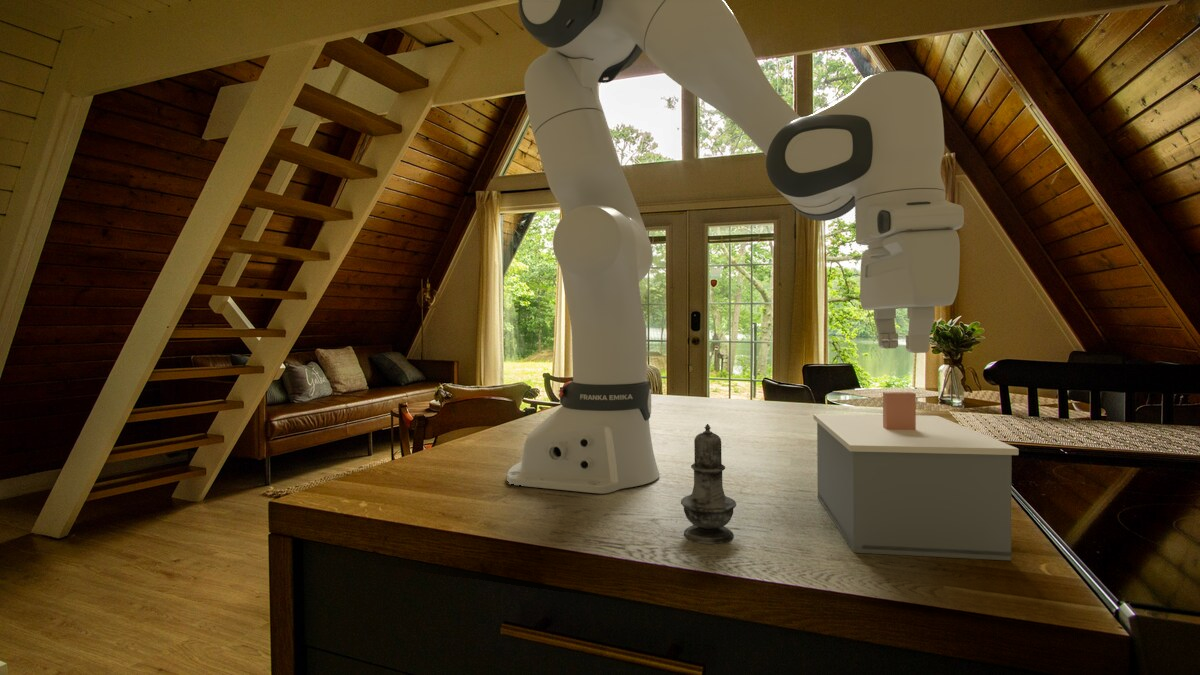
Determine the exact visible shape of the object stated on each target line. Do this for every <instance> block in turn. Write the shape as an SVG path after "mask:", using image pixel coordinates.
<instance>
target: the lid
mask: <svg viewBox="0 0 1200 675" xmlns="http://www.w3.org/2000/svg"><path fill="white" fill-rule="evenodd" d="M916 396H917V394H916V393H915V392H912V391H908V392H907V391H883V392H882V401H883V402H882V414H837V413H836V414H833V413H832V414H830V413H829V414H825V413H824V414H822V413H817V414H816V413H814V414H813V415H812V417H813V420H814V421H815V422H816V424H817V423H819V424H820V425H821V426H822V427H823V428H824V429H825V430H826V431H828V432H829V433H830V434H831V435H832V436H833V437H834V438H836V439H837V440H838V441H839V442H840V443H841V444H842V445H843V446H845V447H846V448H847V449H848V450H849V451H855V452H900V453H945V454H989V455H1012V456H1019V453H1020V452H1019V448H1017V447H1015V446H1013V445H1010V444H1008V443H1005V442H1003V441H1001V440H998V439H995V438H994V437H990V436H988V435H986V434H983V433H981V432H979V431H976V430H974V429H971V428H970V427H969V428H968V427H966V426H963V425H962V424H959V423H956V422H955V421H952V420H949V419H947V418H944V417H941V416H939V415H920V414H918V415H917V414H916V412H917V410H916V408H917V407H916V406H917V405H916V404H917V401H916V400H917V397H916Z"/></svg>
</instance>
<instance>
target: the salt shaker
mask: <svg viewBox="0 0 1200 675" xmlns="http://www.w3.org/2000/svg"><path fill="white" fill-rule="evenodd" d="M704 429H705V431H702V432H699V433H698V434H697V435H696V436H695V437H694V445H693V446H694V463H693V464H691V465H690V468H691V469H692V470H693V488H692V492H691V494H689V495H686V496H684V497H682V498H681V500H680V504H681V505H682V506H683V513H684V514H685V517H686V518H687V520H688V521H689V522H690V523H691V525H690V526H689V527H687V528H686V529H685V530H684V532H683V536H684V538H686V539H687V540H690V541H692V542H695V543H698V544H704V545H719V544H720V545H721V544H726V543H728V542H730V541H732V540H733V539H734V538H735V534H734V533H733V531H732V530H731V529H729V528H728V527H726V525H727V524H728V523H729V522H730V521H731V519H732V516H733V515H734V509H736V506H737V502H736V501H735V499H734V498H732V497H730V496H727V495H726V494H725V492H724V487H723V471H724V470H725V469H726V466H725V465H724V464H722V462H723V460H722V439H721V437H720V436H719V435H717V434H716V433H714V432H713V431H711V429H712V428H711V426H710V425H709V424H708V423H707V424H706V425H705V426H704Z"/></svg>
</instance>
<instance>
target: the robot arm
mask: <svg viewBox="0 0 1200 675" xmlns="http://www.w3.org/2000/svg"><path fill="white" fill-rule="evenodd" d="M517 5H518V13H519V17H520V21H521V23H522V24H523V27H524V28H525V29H526V30H527V32H528V33H529V34H530V36H532V37H533V38H534V40H536V41H537V42H539V43H540V44H542V45H543V46H545V47H548V48H547V50H546V52H545V53H544V54H541V55H540V56H538V57H537V58H535V59H534V60H533V61H532V62H531V63H530V64H529V66H528V67H527V69H526V71H525V73H524V79H523V80H524V81H523V82H524V83H523V84H524V96H525V101H526V102H525V103H526V109H527V114H528V119H529V123H530V128H531V131H532V135H533V137H534V141H535V142H534V143H535V146H536V148H537V151H538V155H539V157H540V160H541V161H540V162H541V165H542V167H543V170H544V174H545V177H546V180H547V184H548V187H549V190H550V191H551V193H552V194H553V197H555V199H556V201H557V203H558V205H559V206H560V208H561V211H562V213H563V216H562V218H561V219H560V220H559V222H558V223H557V225H556V227H555V230H554V234H553V238H552V247H553V253H554V255H555V258H556V261H557V262H558V265H559V267H560V271H561V275H562V276H561V277H562V283H563V288H564V294H565V299H566V305H567V309H568V315H569V322H570V329H571V352H572V354H571V357H572V380H570V381H567V382H564V384H563V385H562V386H561V387H560V389H559V390H558V392H559V394H558V398H559V403H560V405H561V406H560V408H558V409H556V411H555V412H553V413H552V414H550V415H549V416H548V417H546V418H545V420H543V421H542V422H541V423H539V424H538V425H537V426H536V427H535V428H534V429H533V430H532V431H531V432H530V433H529V434H528V435H527V437H526V439H525V441H524V445H523V451H522V456H521V461H519V462H517V463H515V464H514V465H512V466H511V467H510V468H509V470H508V471H507V473H506V482H507V481H508V482H509V483H508V482H507V483H508V485H511V484H514V485H513V486H519V485H521V487H529V488H540V489H541V488H542V489H550V490H561V491H571V492H580V493H592V494H610V493H613V492H615V491H618V490H619V491H620V490H622V489H627V488H633V487H638V486H643V485H646V484H650V483H652V482H654V481H656V480H657V479H659V478H660V472H659V469H658V468H659V467H658V465H657V462H656V458H655V452H654V448H653V442H652V435H651V427H650V426H651V424H650V418H651V415H652V389H651V382H650V380H648V361H647V360H648V354H647V353H648V348H647V340H648V339H647V338H648V337H647V336H648V335H647V325H646V321H645V317H644V311H643V304H642V297H641V296H642V295H641V288H640V282H641V281H642V280H643V279H645V277H646V276H647V274H648V273H649V272H650V269H651V268H652V263H653V258H654V256H653V255H654V254H653V246H652V243H651V240H650V238H649V235H648V231H647V229H646V227H645V223H644V221H643V218H642V216H641V213H640V210H639V207H638V205H637V202H636V200H635V198H634V195H633V193H632V190H631V188H630V185H629V182H628V180H627V177H626V176H625V173H624V171H623V168H622V165H621V162H620V159H619V157H618V153H617V150H616V145H615V143H614V140H613V137H612V134H611V131H610V127H609V124H608V120H607V119H606V114H605V112H604V108H603V106H602V104H601V101H600V97H599V93H598V92H599V91H598V83H600V84H601V83H602V84H604V83H605V84H607V83H609V82H612V81H614V80H615V79H616V77H617V76H618V75H619V73H621V72H623V71H625V70H627V69H628V68H629V67H631V66H632V65H633V64H634V63H635V62H636V61H637V60H638V59H639V57H641V55H642V53H644V54H645V55H646V57H648V59H649V60H650V61H651V62H652V63H653V64H654V65H655V66H656V67H657V68H658V69H659V70H660V71H661V72H662V73H664V75H666V76H667V77H668V78H670V79H671V80H672V81H674V82H675V83H676V84H678V85H679V86H681V87H682V88H684V89H685V90H687V91H688V92H690V93H691V94H693V95H694V96H696V97H697V98H699V99H700V100H702V101H703V102H705V103H706V104H708V105H710V106H711V107H713V109H716V110H717V111H718V112H720V113H722V114H723V115H724V116H726V117H727V118H728V119H730V120H731V121H732V122H733V123H735V125H737V126H738V127H739V128H740V130H742V131H743V132H744V133H745V135H747V137H748V138H749V139H750V140H751V141H752V142H753V143H754V145H756V146H757V148H758V149H759V150H760V151H761V152H762V153H763V154H764V155H765V156H766V159H765V168H766V173H767V176H768V179H769V181H770V182H771V184H772V185H773V187H775V189H776V190H777V191H778V192H779V194H781V195H782V196H783V197H784V198H785V199H786V200H787V201H788V202H789V203H790V205H791V206H792V208H793V209H794V210H795V211H796V212H797V214H800V216H803V217H804V218H806V219H809V220H812V221H818V222H819V221H820V222H821V221H822V222H823V221H824V222H825V221H832V220H835V219H836V220H837V219H838V218H841V217H843V216H845V215H846V214H848V213H849V212H851V211H852V210H853V209H854V216H855V218H854V219H855V220H854V222H855V224H854V225H855V243H856V244H857V245H861V246H867V249H865V250H864V252H863V253H862V255H861V261H860V275H859V277H860V278H859V279H860V280H859V282H860V283H859V300H860V304H861V309H862V310H863V311H873V321H874V324H875V328H876V331H877V334H878V336H877V339H878V343H877V344H878V347H879V348H880V349H897V348H898V347H899V333H897V331H896V321H895V319H896V318H897V310H898V309H907V310H906V311H907V312H906V314H907V316H906V317H907V319H909V321H908V332H907V333H908V334H907V335H906V334H905V350H906V351H907V352H908V353H913V354H924V353H925V354H926V353H928V352H929V351H930V342H931V341H930V335H931V332H932V329H933V326H934V322H935V320H936V319H935V318H936V311H935V310H936V309H935V308H936V307H945V306H946V307H947V306H952V305H953V304H954V302H955V299H956V297H957V294H958V290H959V282H960V265H961V264H960V263H961V262H960V259H961V258H960V257H961V252H960V249H961V247H960V245H961V242H960V237H959V234H958V232H957V231H956V230H960V229H961V228H963V226H964V224H965V213H964V212H965V210H964V207H963V206H962V205H960V204H958V203H953V202H950V201H948V200H946V186H945V183H944V180H943V178H942V173H941V172H942V171H941V169H942V162H943V158H944V154H945V127H944V116H943V115H944V114H943V107H942V106H943V105H942V102H941V96H940V93H939V91H938V88H937V86H936V85H935V82H933V80H931V78H929V77H928V76H926V75H924V74H921V73H920V72H915V71H911V70H901V69H899V70H898V69H896V70H886V71H881V72H878V73H874V74H871V75H869V76H867V77H865V78H863V79H862V80H861V81H860V82H859V83H858V84H857V85H856V86H855V88H854V89H852V90H851V91H850V92H848V94H846V95H844V97H842V98H841V99H839V100H837V101H836V102H834V103H832V104H830V105H829V106H827V107H824V108H822V109H821V110H819V111H816V112H814V113H813V114H810V115H807V116H805V115H804V116H802V117H801V116H800V115H799V114H798V113H797V112H796V111H795V110H794V108H792V106H791V105H789V104H788V102H786V100H785V99H784V98H783V97H782V96H781V95H780V94H779V93H778V91H776V89H775V88H774V87H773V85H772V84H771V83H770V81H769V80H768V77H767V76H766V74H765V73H764V71H763V69H762V67H761V65H760V63H759V62H758V59H757V57H756V55H755V53H754V51H753V48H752V46H751V44H750V42H749V40H748V37H747V36H746V34H745V32H744V30H743V28H742V26H741V24H740V23H739V22H738V20H737V17H736V16H735V14H734V12H733V11H732V10H731V8H730V7H729V6H728V3H726V1H725V0H518V4H517ZM604 78H605V79H604ZM606 78H607V79H606Z"/></svg>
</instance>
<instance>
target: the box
mask: <svg viewBox="0 0 1200 675" xmlns="http://www.w3.org/2000/svg"><path fill="white" fill-rule="evenodd" d="M816 426H817V428H816V430H817V431H816V432H817V433H816V436H817V437H816V438H817V439H816V448H817V450H816V451H817V454H816V456H817V461H816V462H817V464H816V467H817V468H816V469H817V473H816V474H817V478H816V479H817V499H818V501H819V502H820V503H821V505H822V507H823V508H824V510H825V511H826V513H827V514H828V516H829V517H830V518H831V520H832V521H833V522H832V523H833V524H834V525H835V526H836V528H837V529H838V531H839V533H840V534H841V535H842V537H843V538H844V540H845V542H846V543H847V545H848V546H849V548H850V549H851V551H852V552H853V554H855V553H856V554H857V553H858V554H859V553H860V554H873V555H874V554H877V555H897V556H898V555H899V556H914V557H917V556H918V557H932V558H933V557H934V558H935V557H936V558H938V557H939V558H954V559H955V558H956V559H958V558H959V559H972V560H973V559H974V560H995V561H1012V466H1013V465H1012V462H1013V460H1012V456H1013V455H989V454H945V453H900V452H855V451H849V450H848V449H847V448H846V447H845V446H843V445H842V444H841V443H840V442H839V441H838V440H837V439H836V438H834V437H833V436H832V435H831V434H830V433H829V432H828V431H826V430H825V429H824V428H823V427H822V426H821V425H820V424H819V423H817V422H816Z"/></svg>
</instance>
